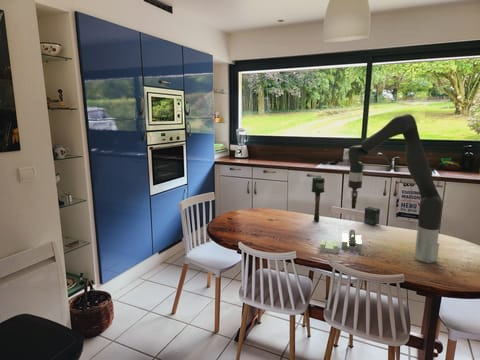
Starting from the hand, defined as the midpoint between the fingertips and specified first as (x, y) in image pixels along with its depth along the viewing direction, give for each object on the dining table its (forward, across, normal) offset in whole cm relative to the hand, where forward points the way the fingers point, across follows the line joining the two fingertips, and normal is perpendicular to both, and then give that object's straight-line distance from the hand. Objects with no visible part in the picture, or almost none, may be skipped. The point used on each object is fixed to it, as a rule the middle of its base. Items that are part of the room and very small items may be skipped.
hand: (353, 206), depth 192 cm
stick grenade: (+18, -18, -23) cm, 34 cm away
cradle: (+17, +26, -11) cm, 33 cm away
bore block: (+17, +18, 0) cm, 25 cm away
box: (+18, -25, +13) cm, 33 cm away
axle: (+15, +15, 0) cm, 21 cm away
